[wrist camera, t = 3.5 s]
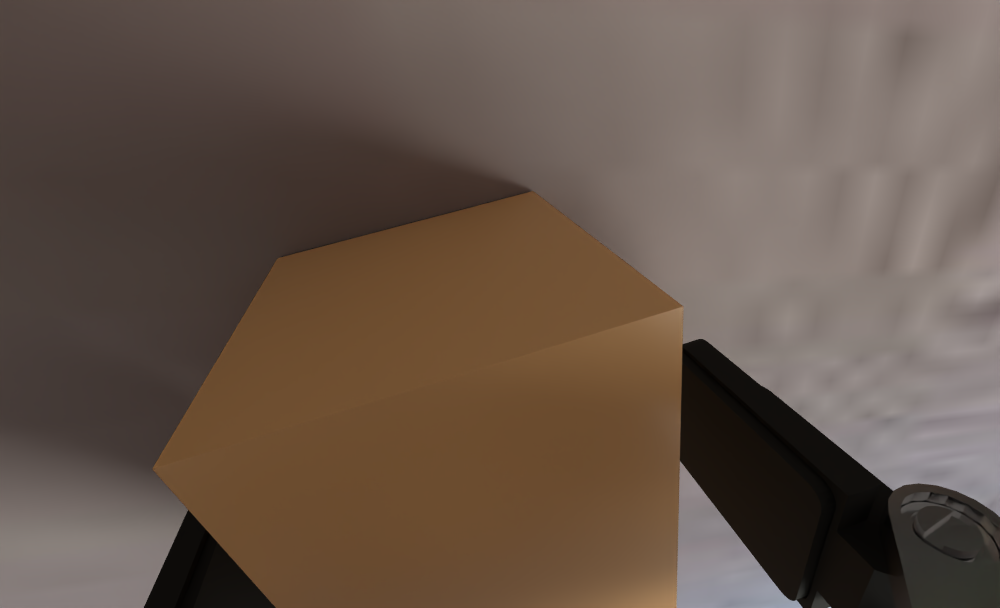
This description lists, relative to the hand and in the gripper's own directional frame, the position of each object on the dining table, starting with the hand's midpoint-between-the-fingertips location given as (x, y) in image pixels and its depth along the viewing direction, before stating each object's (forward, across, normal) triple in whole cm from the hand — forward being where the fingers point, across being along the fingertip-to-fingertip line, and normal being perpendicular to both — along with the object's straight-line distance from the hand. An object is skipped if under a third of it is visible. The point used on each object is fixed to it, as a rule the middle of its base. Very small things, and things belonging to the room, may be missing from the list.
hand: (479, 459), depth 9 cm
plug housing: (+2, 0, +2) cm, 3 cm away
